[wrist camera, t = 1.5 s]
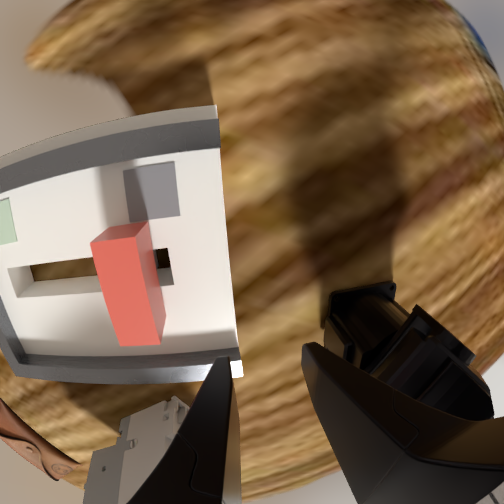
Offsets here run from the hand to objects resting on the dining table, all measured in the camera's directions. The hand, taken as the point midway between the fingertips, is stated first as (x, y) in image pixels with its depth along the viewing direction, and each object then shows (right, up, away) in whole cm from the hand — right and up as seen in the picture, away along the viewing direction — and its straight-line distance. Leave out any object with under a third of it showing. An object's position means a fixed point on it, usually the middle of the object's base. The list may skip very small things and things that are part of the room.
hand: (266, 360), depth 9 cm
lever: (-8, +3, +10) cm, 13 cm away
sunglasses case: (-34, -25, +17) cm, 45 cm away
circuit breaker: (-12, -17, +17) cm, 27 cm away
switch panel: (-12, +3, +10) cm, 16 cm away
